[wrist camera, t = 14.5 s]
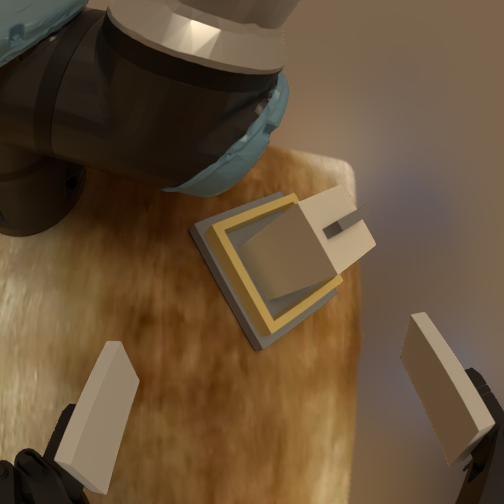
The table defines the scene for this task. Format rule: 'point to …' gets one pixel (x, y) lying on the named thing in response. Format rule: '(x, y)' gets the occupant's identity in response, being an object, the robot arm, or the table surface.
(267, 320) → the tray
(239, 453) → the table surface
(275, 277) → the beige rectangular block
